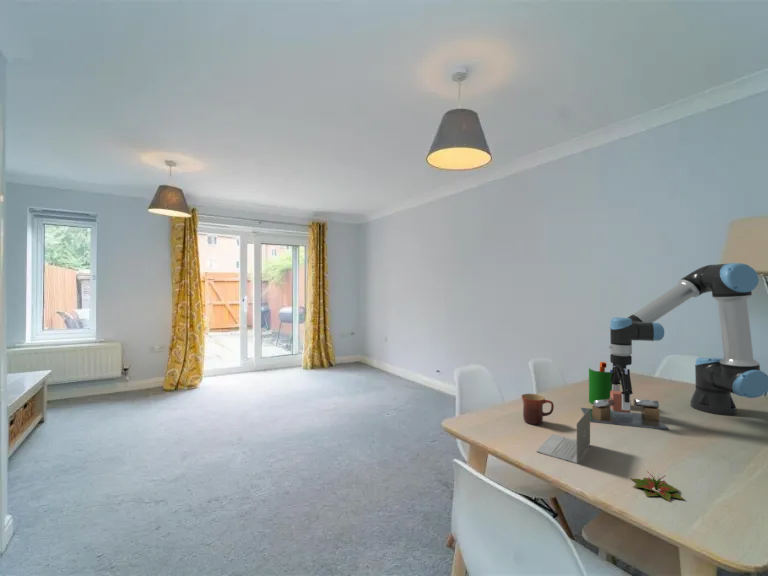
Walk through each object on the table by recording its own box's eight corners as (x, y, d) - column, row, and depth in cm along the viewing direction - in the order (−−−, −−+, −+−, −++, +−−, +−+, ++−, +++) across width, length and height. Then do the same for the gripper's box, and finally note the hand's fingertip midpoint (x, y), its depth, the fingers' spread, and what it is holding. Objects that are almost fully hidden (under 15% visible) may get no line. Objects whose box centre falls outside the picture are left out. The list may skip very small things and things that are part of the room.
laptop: (552, 435, 132) (552, 400, 132) (590, 445, 124) (590, 408, 124) (536, 453, 118) (536, 414, 118) (578, 465, 110) (578, 423, 110)
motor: (608, 400, 171) (608, 359, 171) (618, 407, 162) (618, 363, 162) (586, 400, 172) (586, 359, 172) (595, 406, 163) (595, 363, 163)
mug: (520, 424, 142) (520, 398, 142) (522, 416, 150) (522, 392, 150) (553, 429, 137) (553, 402, 137) (553, 421, 145) (553, 396, 145)
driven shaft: (607, 414, 150) (607, 397, 150) (615, 418, 147) (615, 400, 147) (592, 416, 148) (592, 399, 148) (600, 420, 144) (600, 402, 144)
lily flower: (643, 502, 92) (643, 484, 92) (621, 476, 103) (621, 461, 103) (696, 507, 89) (696, 489, 89) (668, 480, 101) (668, 465, 101)
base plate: (652, 416, 150) (652, 397, 150) (668, 429, 136) (668, 408, 136) (581, 409, 159) (581, 391, 159) (588, 421, 145) (588, 401, 145)
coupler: (628, 408, 151) (628, 392, 151) (631, 412, 147) (631, 395, 147) (608, 406, 153) (608, 390, 153) (611, 410, 149) (611, 393, 149)
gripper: (602, 348, 163) (602, 395, 163) (619, 359, 139) (619, 413, 139) (621, 349, 160) (621, 396, 160) (642, 360, 137) (642, 415, 137)
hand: (620, 404), depth 150 cm, fingers open, 13 cm apart
